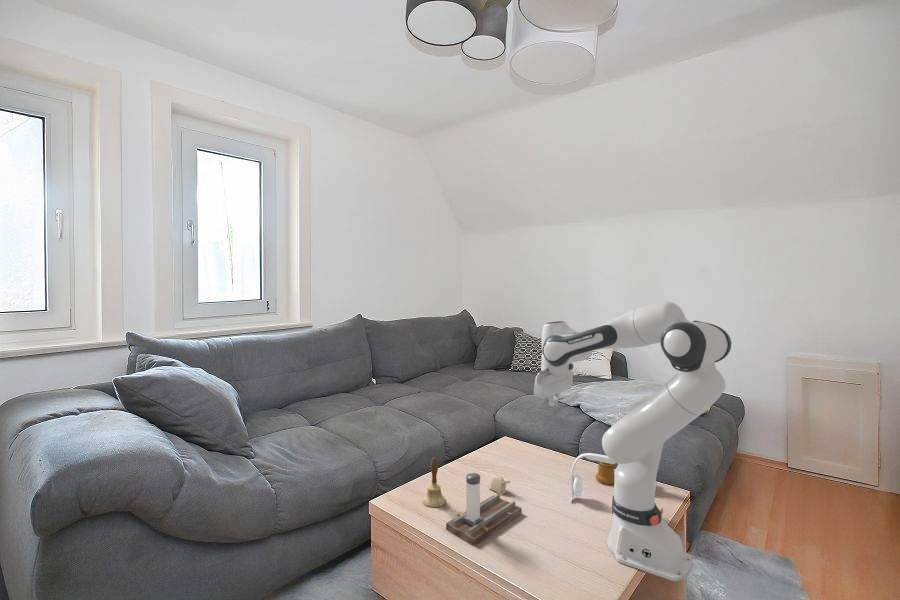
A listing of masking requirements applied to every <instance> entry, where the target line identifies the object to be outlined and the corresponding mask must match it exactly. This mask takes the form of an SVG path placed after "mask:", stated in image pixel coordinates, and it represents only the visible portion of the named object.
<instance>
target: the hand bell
mask: <svg viewBox="0 0 900 600" xmlns="http://www.w3.org/2000/svg"><path fill="white" fill-rule="evenodd" d="M438 470H439V463H438V461H437V457H432V459H431V463H430V472H431V484H428V486H427V492H426V495H425V496H424V497H423V499H422V500H421V501H422V504H423V505H424V506H425V507H429V508H439V507H442V506H443V505H445V504H446V500H447V499H446V498H445V496H443V493H442V490H441V485H440V484H438V483H437V481H438V479H437V478H438V477H437V475H438Z"/></svg>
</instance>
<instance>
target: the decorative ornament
mask: <svg viewBox="0 0 900 600" xmlns="http://www.w3.org/2000/svg"><path fill="white" fill-rule="evenodd" d="M510 483H511V481H510V480H505V479H504V477H501V476H499V475H495V476H494V477H493V478H492V479H491V481H490V486H489V487H488V489H487V490H492V491H493V492H496V493H498V494H499V495H500V497H501V496H503V495H505V493H506V492H507V491H506V488H507V487H506V485H507V484H510Z"/></svg>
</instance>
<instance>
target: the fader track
mask: <svg viewBox="0 0 900 600" xmlns="http://www.w3.org/2000/svg"><path fill="white" fill-rule="evenodd" d="M522 511H523V509H522V507H520V506H519V505H517V504H516V500H515V501H514V500H512V501H511V502H509V501H507V500H505V499H503V498H501V495H500V494H499V493H498V494H496V495H494V494H493V495H492V496H490V497H488V498H486V499H485V500H482V501H480V517H481V518H483V520H482V521H481V522H479V523H478V524H476V525H475V526H471V525H469V524H468V523H466V522H464V521H463V517H465V516H466V511H465V512H463V513H461V512H460V513H458V514H457V516H456V517H454V518H452V519H451V520H449V521H447V522H446V523H445V529H446V530H447V531H448V532H450V533H451V534H453V535H455V536H457V537H459V538H461V539H462V540H463V541H466V542H467V543H469V544H471V545H472V546H475V547H476V546H477V545H478V544H480V543H481V542H482V541H484V540H485V539H487V538H488V537H490V536H492V535H493V534H495V533H496V532H497V531H499V530H500V529H502V528H503V527H504V526H506V525H507V524H509V523H511V522H512V521H513V520H515V519H516V518H518V517H519V516H520V515H522V514H523V512H522Z"/></svg>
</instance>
